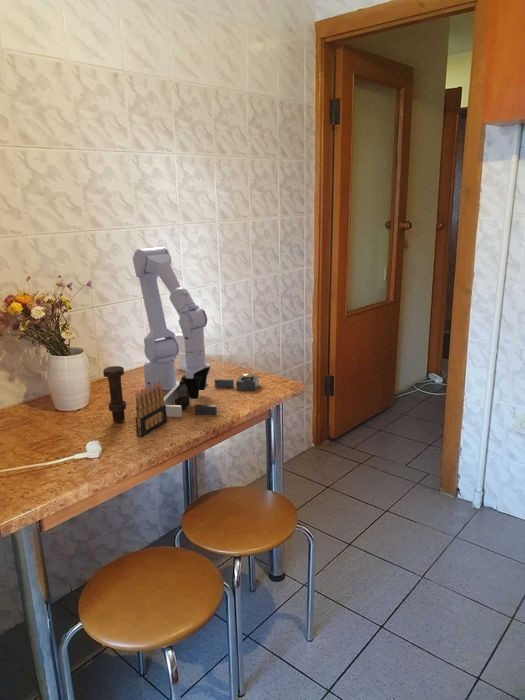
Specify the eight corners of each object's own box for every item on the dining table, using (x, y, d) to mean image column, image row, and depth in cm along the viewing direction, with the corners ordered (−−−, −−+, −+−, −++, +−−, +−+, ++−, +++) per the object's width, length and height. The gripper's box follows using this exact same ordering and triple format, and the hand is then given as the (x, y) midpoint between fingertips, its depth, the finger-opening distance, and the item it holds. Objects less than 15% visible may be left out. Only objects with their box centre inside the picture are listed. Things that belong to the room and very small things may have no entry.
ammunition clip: (161, 421, 145) (158, 379, 142) (167, 422, 145) (164, 379, 142) (136, 436, 136) (132, 391, 133) (142, 437, 135) (138, 392, 132)
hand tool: (190, 407, 152) (185, 392, 150) (177, 411, 152) (171, 397, 151) (197, 385, 170) (192, 372, 169) (185, 389, 170) (180, 376, 169)
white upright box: (174, 370, 190) (172, 337, 187) (182, 362, 199) (180, 331, 196) (199, 370, 189) (197, 337, 186) (205, 363, 197) (203, 331, 194)
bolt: (133, 418, 147) (128, 366, 143) (123, 426, 143) (117, 372, 139) (115, 416, 149) (109, 365, 145) (104, 423, 145) (98, 370, 141)
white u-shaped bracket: (156, 416, 149) (155, 406, 148) (186, 383, 175) (185, 374, 175) (181, 416, 148) (180, 406, 147) (207, 383, 174) (206, 375, 174)
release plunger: (241, 387, 168) (240, 375, 167) (243, 383, 172) (242, 372, 171) (252, 387, 168) (251, 376, 167) (254, 383, 171) (253, 372, 170)
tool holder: (195, 414, 149) (194, 404, 148) (217, 383, 174) (217, 374, 174) (242, 416, 147) (242, 405, 146) (258, 384, 172) (258, 375, 171)
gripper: (201, 357, 149) (204, 403, 153) (214, 344, 163) (216, 386, 167) (177, 357, 150) (180, 402, 154) (191, 343, 164) (194, 385, 168)
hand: (197, 394), depth 160 cm, fingers open, 7 cm apart
